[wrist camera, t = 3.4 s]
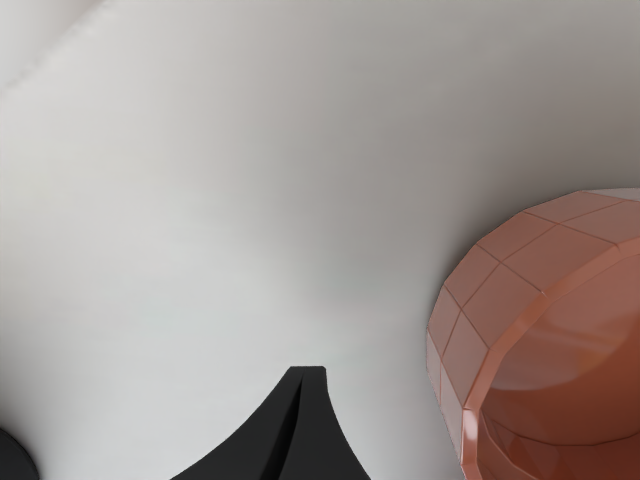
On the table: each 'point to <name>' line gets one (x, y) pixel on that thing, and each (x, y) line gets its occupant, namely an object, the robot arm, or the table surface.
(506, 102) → the table surface
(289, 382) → the robot arm
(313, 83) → the table surface
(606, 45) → the table surface
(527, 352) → the bowl
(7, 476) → the pen holder
